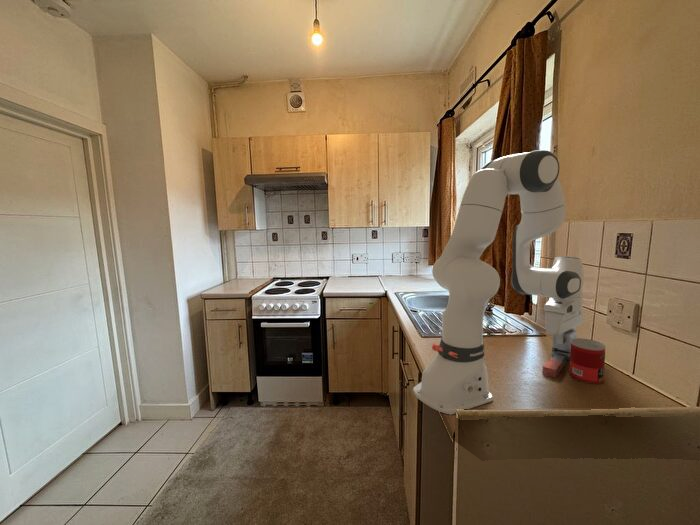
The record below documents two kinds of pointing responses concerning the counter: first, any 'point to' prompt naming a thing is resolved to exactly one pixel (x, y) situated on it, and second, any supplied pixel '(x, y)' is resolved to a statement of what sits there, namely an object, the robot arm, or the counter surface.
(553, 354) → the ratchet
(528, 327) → the counter surface
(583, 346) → the canned food
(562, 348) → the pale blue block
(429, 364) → the robot arm
